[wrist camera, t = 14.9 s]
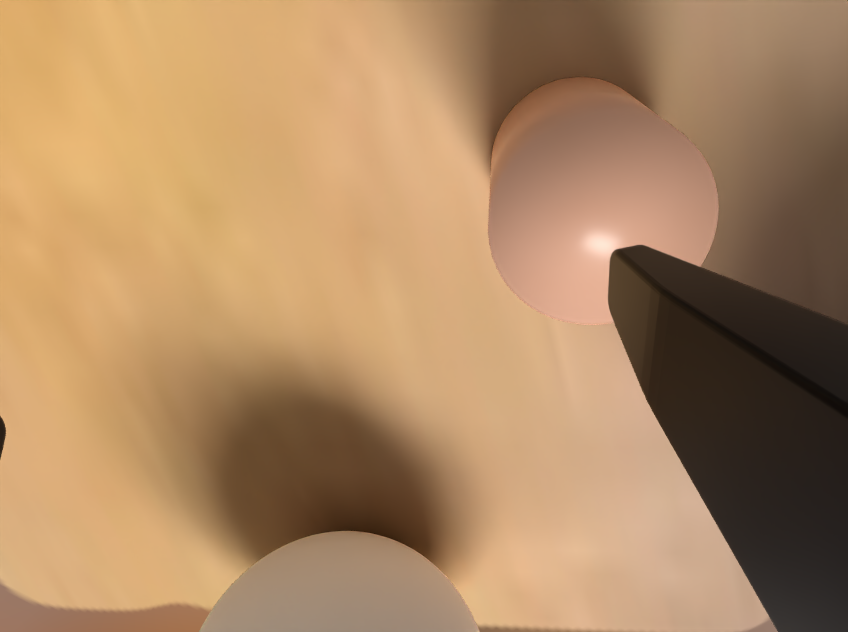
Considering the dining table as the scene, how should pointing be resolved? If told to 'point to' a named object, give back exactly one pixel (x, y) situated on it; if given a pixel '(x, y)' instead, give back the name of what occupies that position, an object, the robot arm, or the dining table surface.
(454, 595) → the decorative ball
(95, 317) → the dining table surface
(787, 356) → the robot arm
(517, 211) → the peach rounded cylinder
